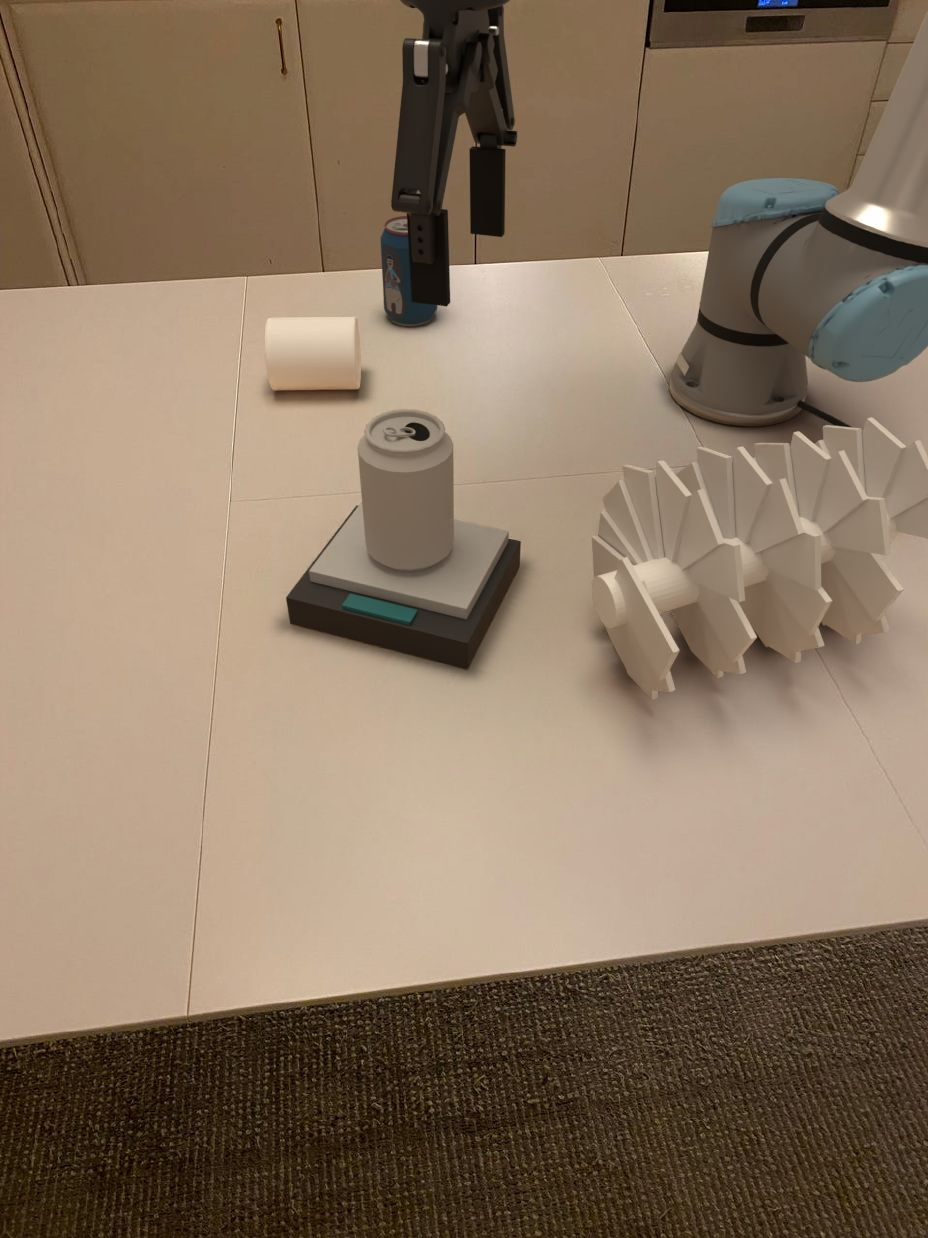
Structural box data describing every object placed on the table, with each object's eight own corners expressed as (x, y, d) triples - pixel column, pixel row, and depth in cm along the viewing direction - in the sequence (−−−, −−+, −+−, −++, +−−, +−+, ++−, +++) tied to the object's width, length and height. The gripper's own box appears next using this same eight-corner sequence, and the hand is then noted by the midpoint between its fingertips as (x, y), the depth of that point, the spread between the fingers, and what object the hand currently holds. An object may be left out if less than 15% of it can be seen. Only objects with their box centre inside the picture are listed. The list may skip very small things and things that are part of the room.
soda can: (440, 306, 127) (439, 214, 119) (433, 329, 122) (432, 235, 114) (389, 304, 128) (384, 212, 120) (380, 327, 123) (375, 232, 115)
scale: (519, 567, 86) (521, 529, 83) (467, 670, 77) (468, 631, 74) (358, 530, 90) (355, 494, 87) (289, 624, 81) (283, 586, 78)
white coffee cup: (358, 401, 108) (353, 335, 103) (270, 403, 108) (261, 337, 103) (363, 353, 117) (359, 290, 112) (282, 354, 117) (273, 291, 112)
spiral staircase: (572, 673, 82) (818, 595, 88) (676, 751, 66) (969, 648, 71) (536, 465, 76) (801, 396, 82) (640, 494, 60) (962, 405, 66)
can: (467, 565, 80) (467, 441, 72) (381, 586, 78) (372, 460, 70) (435, 516, 85) (433, 395, 77) (355, 534, 83) (344, 412, 75)
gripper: (461, -98, 69) (465, 205, 83) (313, -42, 51) (351, 329, 66) (562, -96, 67) (549, 214, 81) (445, -37, 49) (454, 343, 64)
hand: (461, 266), depth 73 cm, fingers open, 13 cm apart
